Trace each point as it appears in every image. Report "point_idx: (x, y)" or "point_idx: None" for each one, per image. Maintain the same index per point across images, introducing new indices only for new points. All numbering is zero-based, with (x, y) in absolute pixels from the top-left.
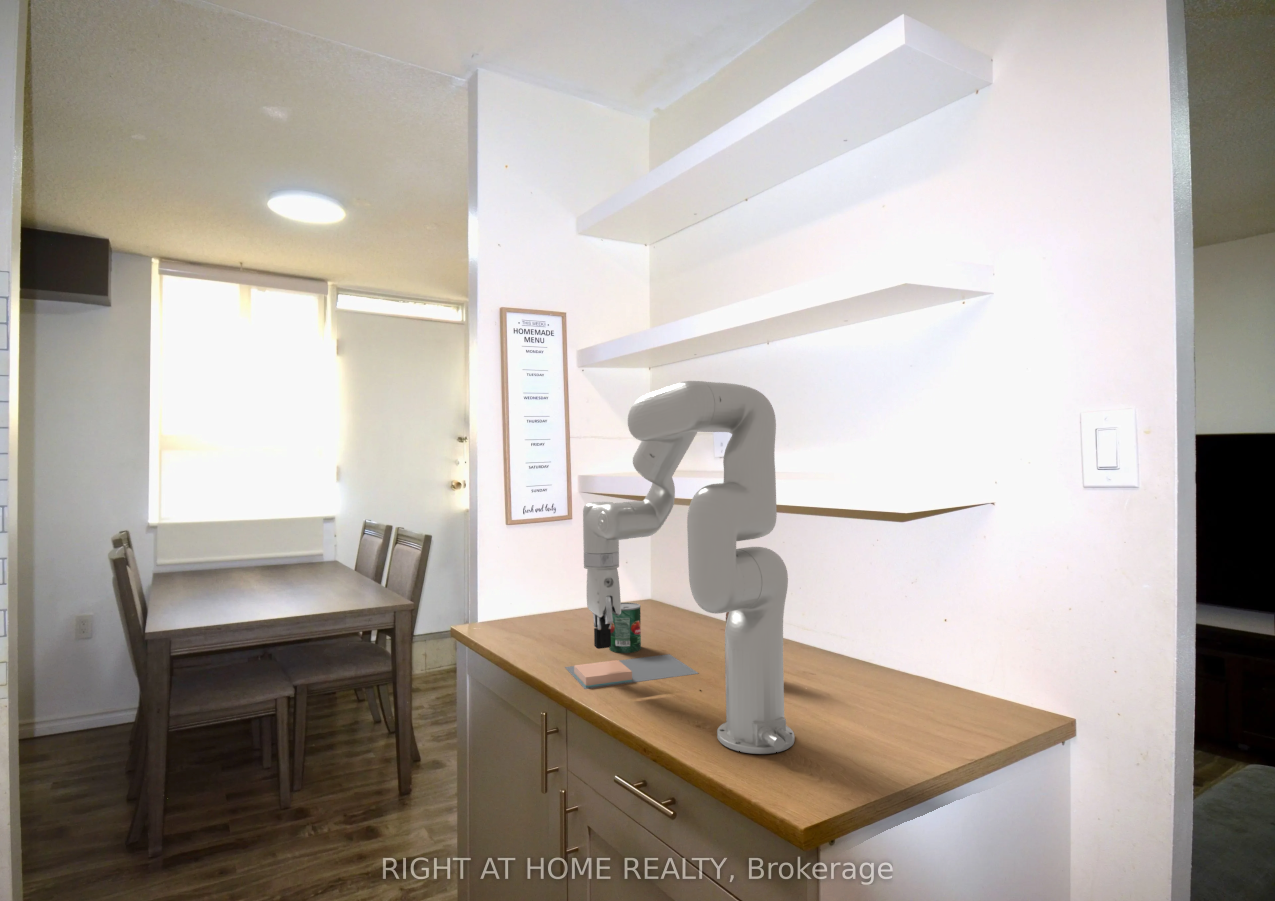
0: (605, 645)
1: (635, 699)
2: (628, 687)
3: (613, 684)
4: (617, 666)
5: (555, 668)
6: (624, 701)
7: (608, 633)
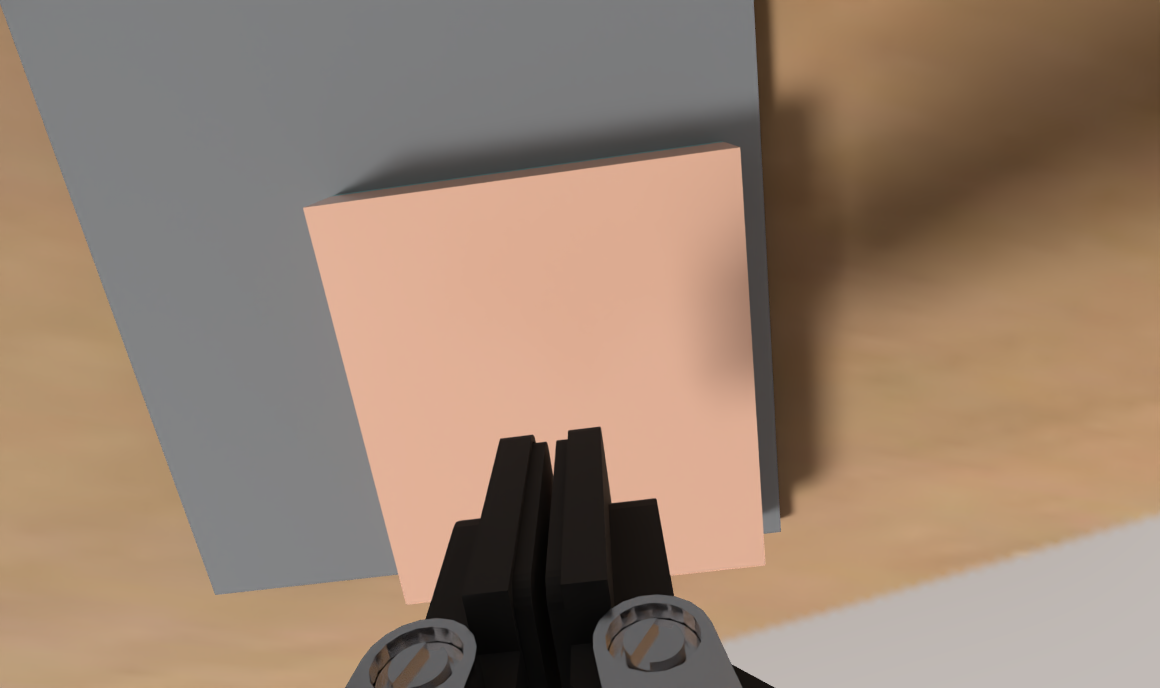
0: (610, 501)
1: (1112, 201)
2: (808, 194)
3: (754, 316)
4: (532, 257)
5: (192, 636)
6: (1110, 294)
7: (609, 559)
